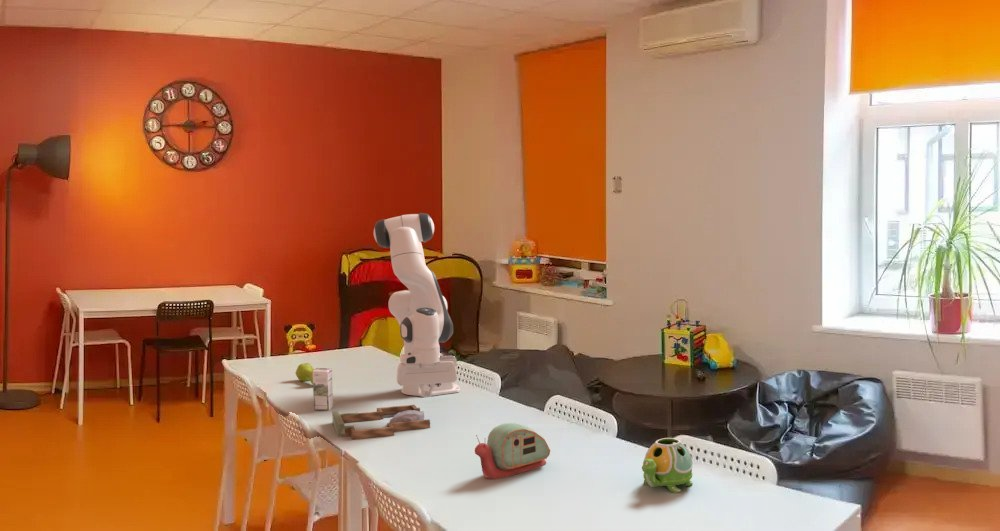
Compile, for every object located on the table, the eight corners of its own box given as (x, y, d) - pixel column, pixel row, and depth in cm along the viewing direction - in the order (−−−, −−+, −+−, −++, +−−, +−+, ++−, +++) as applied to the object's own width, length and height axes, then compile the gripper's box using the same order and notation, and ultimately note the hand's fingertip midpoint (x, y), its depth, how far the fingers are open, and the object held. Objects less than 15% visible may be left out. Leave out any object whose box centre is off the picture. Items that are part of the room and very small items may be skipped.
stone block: (389, 433, 299) (417, 428, 297) (386, 419, 299) (414, 414, 297) (399, 425, 310) (427, 420, 308) (396, 411, 310) (424, 406, 308)
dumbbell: (330, 385, 361) (329, 367, 361) (312, 388, 357) (311, 370, 356) (312, 378, 374) (311, 361, 374) (294, 381, 370) (293, 364, 369)
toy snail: (536, 459, 263) (536, 413, 262) (554, 465, 257) (553, 418, 256) (468, 478, 248) (467, 429, 246) (485, 485, 242) (484, 435, 240)
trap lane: (416, 411, 319) (416, 400, 318) (433, 431, 293) (432, 419, 293) (331, 419, 310) (330, 407, 310) (340, 440, 285) (339, 428, 284)
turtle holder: (624, 491, 235) (623, 446, 234) (662, 473, 249) (662, 431, 247) (664, 502, 227) (664, 456, 226) (701, 483, 240) (702, 439, 239)
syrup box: (333, 406, 327) (332, 367, 326) (329, 410, 322) (327, 370, 320) (318, 406, 328) (316, 367, 327) (313, 410, 322) (311, 370, 321)
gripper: (454, 353, 310) (454, 393, 311) (395, 356, 304) (396, 396, 305) (458, 356, 304) (459, 396, 305) (398, 359, 298) (398, 400, 299)
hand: (426, 396), depth 305 cm, fingers closed
